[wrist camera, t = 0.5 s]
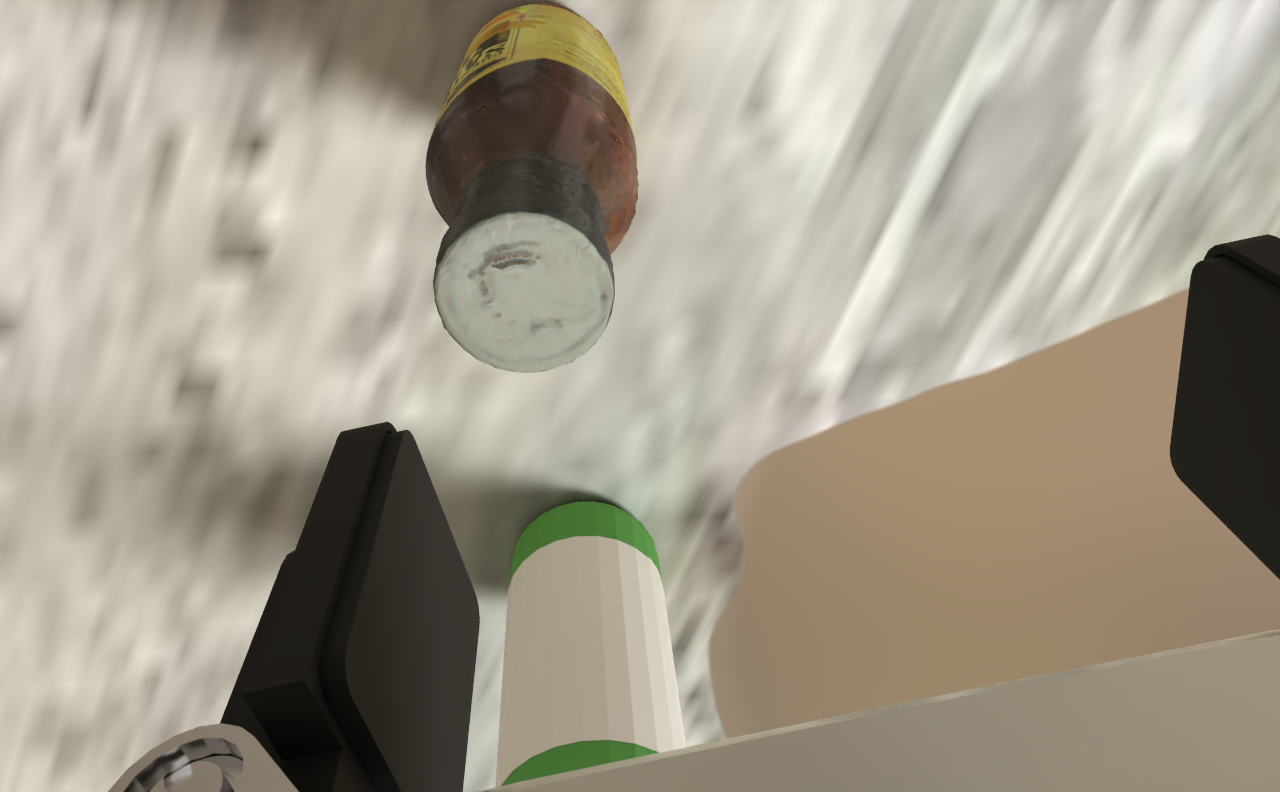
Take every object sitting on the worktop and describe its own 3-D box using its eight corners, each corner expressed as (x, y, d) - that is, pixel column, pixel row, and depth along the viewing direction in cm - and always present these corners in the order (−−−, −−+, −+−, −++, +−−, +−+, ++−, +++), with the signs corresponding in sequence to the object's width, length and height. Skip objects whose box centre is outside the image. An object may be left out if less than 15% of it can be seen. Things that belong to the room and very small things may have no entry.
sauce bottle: (486, -27, 35) (417, 80, 18) (641, 30, 36) (716, 180, 19) (445, 138, 38) (352, 367, 21) (590, 184, 39) (615, 434, 22)
